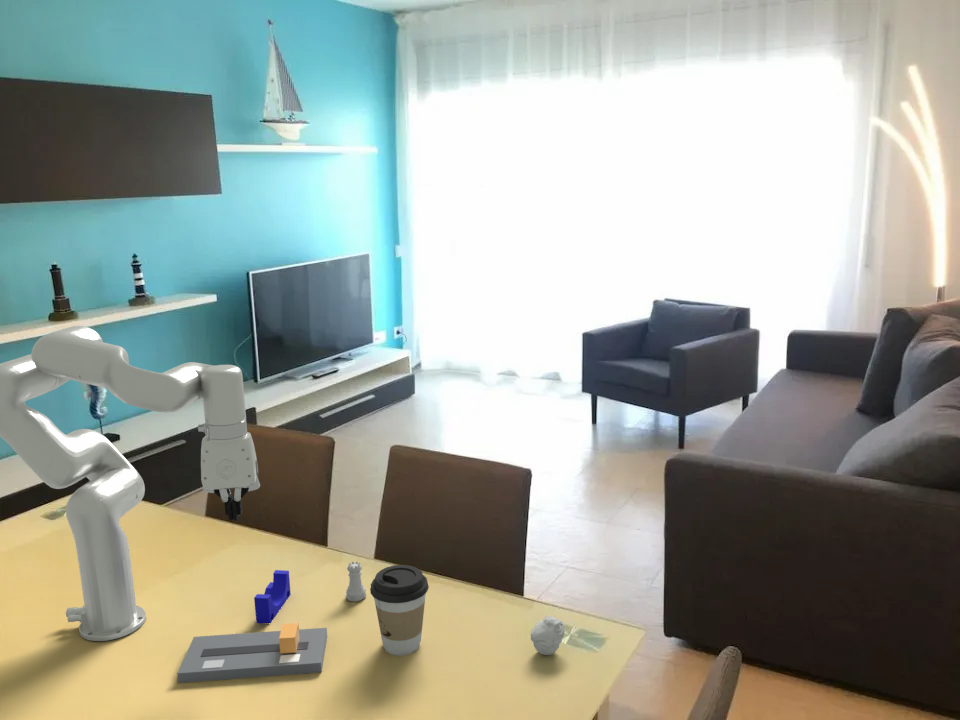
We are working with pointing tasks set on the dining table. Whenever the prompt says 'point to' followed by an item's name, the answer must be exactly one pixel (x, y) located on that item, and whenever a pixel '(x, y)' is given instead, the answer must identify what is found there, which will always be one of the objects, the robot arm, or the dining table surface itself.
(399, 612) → the coffee cup
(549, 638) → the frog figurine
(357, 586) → the rook chess piece
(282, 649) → the switch knob
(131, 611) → the robot arm
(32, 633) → the dining table surface
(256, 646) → the switch panel
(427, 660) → the dining table surface
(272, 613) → the blue curved stepped piece
